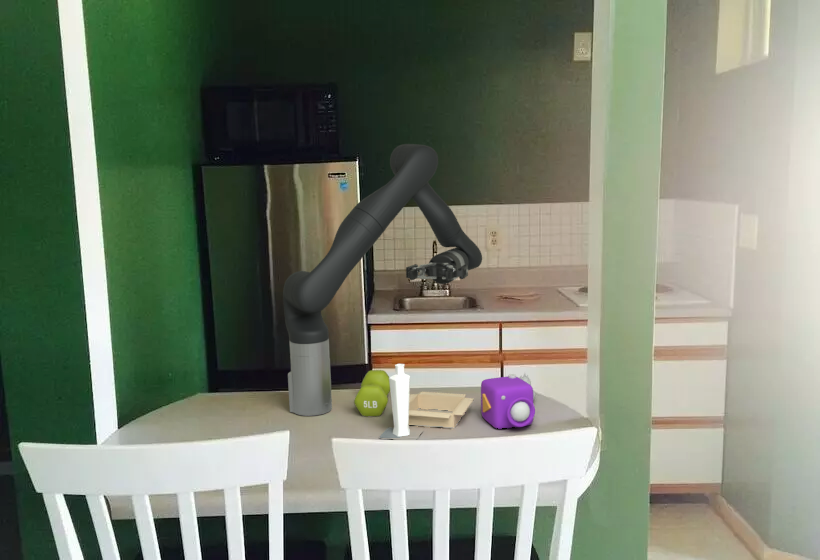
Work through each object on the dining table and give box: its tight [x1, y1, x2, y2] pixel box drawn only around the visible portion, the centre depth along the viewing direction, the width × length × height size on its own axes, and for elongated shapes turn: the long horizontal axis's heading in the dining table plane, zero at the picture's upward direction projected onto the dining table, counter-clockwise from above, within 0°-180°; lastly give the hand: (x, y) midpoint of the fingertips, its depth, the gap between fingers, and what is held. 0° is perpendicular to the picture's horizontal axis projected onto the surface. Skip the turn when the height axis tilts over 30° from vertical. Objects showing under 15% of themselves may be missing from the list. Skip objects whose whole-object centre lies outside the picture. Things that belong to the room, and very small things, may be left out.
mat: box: [379, 426, 402, 438], centre depth 151 cm, size 8×6×1 cm
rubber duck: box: [519, 372, 537, 402], centre depth 169 cm, size 5×7×8 cm
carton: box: [409, 391, 475, 428], centre depth 160 cm, size 16×16×4 cm
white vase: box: [389, 363, 411, 436], centre depth 149 cm, size 5×4×15 cm
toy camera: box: [480, 373, 536, 430], centre depth 155 cm, size 11×14×10 cm
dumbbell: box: [353, 369, 391, 417], centre depth 170 cm, size 16×8×7 cm, turn 176°
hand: (429, 275), depth 161 cm, fingers open, 8 cm apart
